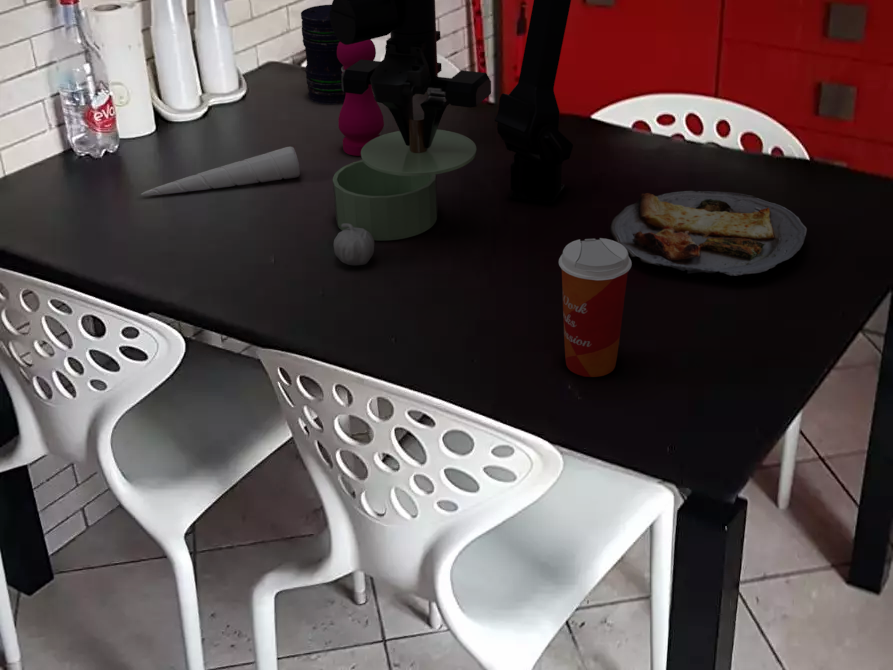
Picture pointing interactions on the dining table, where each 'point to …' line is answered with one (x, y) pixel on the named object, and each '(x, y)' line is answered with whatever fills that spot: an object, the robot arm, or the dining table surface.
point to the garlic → (354, 245)
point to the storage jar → (321, 56)
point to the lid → (418, 151)
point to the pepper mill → (358, 102)
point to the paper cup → (593, 303)
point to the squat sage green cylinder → (384, 202)
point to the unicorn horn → (238, 173)
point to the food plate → (709, 232)
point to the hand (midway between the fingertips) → (418, 146)
